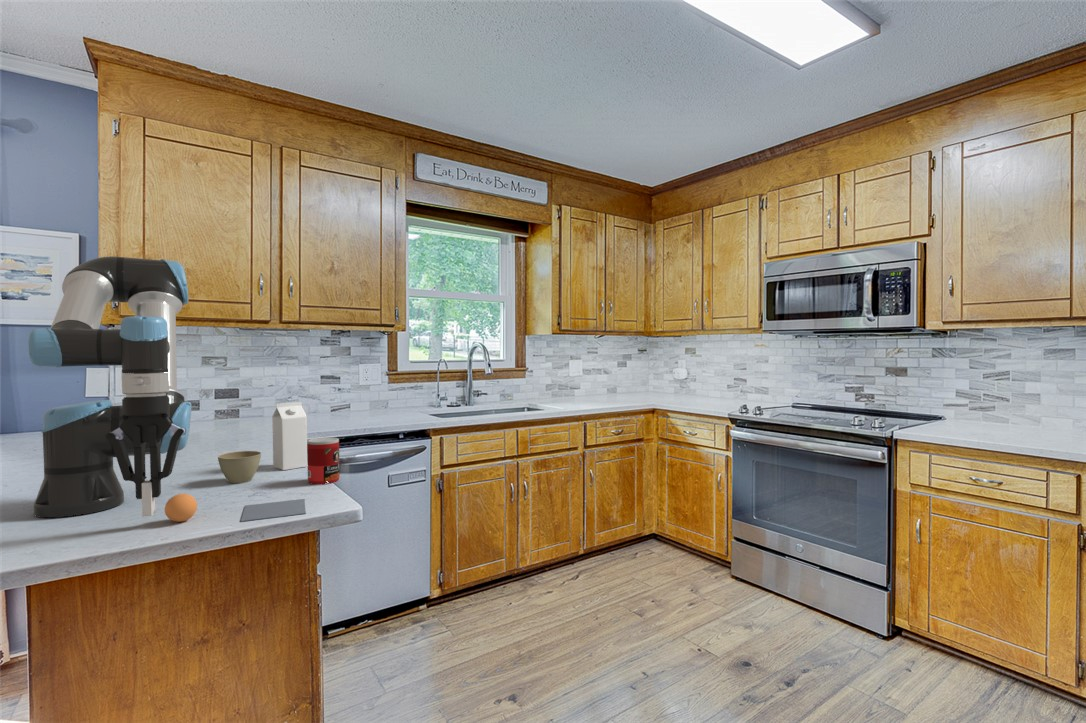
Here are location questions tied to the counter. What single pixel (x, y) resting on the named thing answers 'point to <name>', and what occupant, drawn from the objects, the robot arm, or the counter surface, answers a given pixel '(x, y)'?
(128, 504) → the counter surface
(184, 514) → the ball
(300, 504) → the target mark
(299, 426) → the milk carton
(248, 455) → the olive green bowl
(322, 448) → the canned food
